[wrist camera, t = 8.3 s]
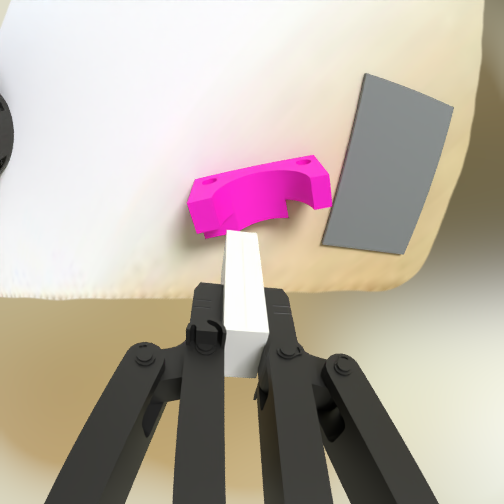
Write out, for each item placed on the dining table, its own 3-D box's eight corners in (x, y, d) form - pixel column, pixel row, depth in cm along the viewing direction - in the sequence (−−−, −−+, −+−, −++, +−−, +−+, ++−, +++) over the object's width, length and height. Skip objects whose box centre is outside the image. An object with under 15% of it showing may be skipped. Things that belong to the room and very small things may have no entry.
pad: (321, 242, 44) (322, 244, 44) (364, 73, 31) (366, 73, 31) (402, 252, 46) (403, 254, 45) (451, 106, 33) (453, 107, 32)
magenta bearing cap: (208, 221, 42) (203, 252, 36) (195, 178, 38) (186, 203, 32) (319, 199, 41) (334, 226, 34) (313, 154, 37) (329, 174, 31)
